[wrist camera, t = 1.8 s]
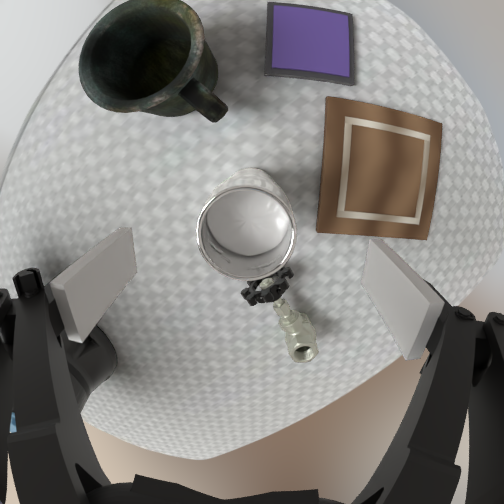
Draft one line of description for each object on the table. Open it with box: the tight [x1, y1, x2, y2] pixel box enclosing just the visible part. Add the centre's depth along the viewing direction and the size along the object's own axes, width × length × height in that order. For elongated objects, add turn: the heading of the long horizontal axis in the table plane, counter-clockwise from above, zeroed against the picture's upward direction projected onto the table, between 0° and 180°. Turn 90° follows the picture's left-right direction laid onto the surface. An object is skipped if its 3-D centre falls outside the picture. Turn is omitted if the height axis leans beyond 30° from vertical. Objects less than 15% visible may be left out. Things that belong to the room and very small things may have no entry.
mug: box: [79, 0, 228, 122], centre depth 21 cm, size 11×15×12 cm
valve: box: [241, 266, 319, 363], centre depth 34 cm, size 7×7×12 cm
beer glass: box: [196, 168, 297, 281], centre depth 25 cm, size 7×7×15 cm
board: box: [316, 96, 442, 240], centre depth 30 cm, size 16×16×1 cm
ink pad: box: [265, 2, 354, 86], centre depth 24 cm, size 10×10×2 cm
